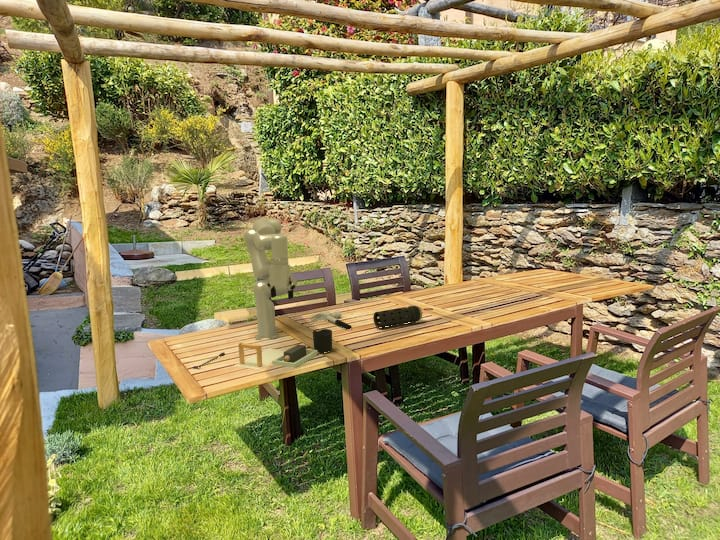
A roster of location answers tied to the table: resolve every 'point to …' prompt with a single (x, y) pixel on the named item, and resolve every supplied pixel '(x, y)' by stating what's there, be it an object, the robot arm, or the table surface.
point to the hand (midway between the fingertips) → (282, 297)
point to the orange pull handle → (250, 346)
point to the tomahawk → (208, 361)
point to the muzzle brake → (397, 316)
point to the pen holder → (322, 340)
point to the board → (266, 359)
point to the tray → (297, 363)
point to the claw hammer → (330, 318)
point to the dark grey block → (295, 353)
